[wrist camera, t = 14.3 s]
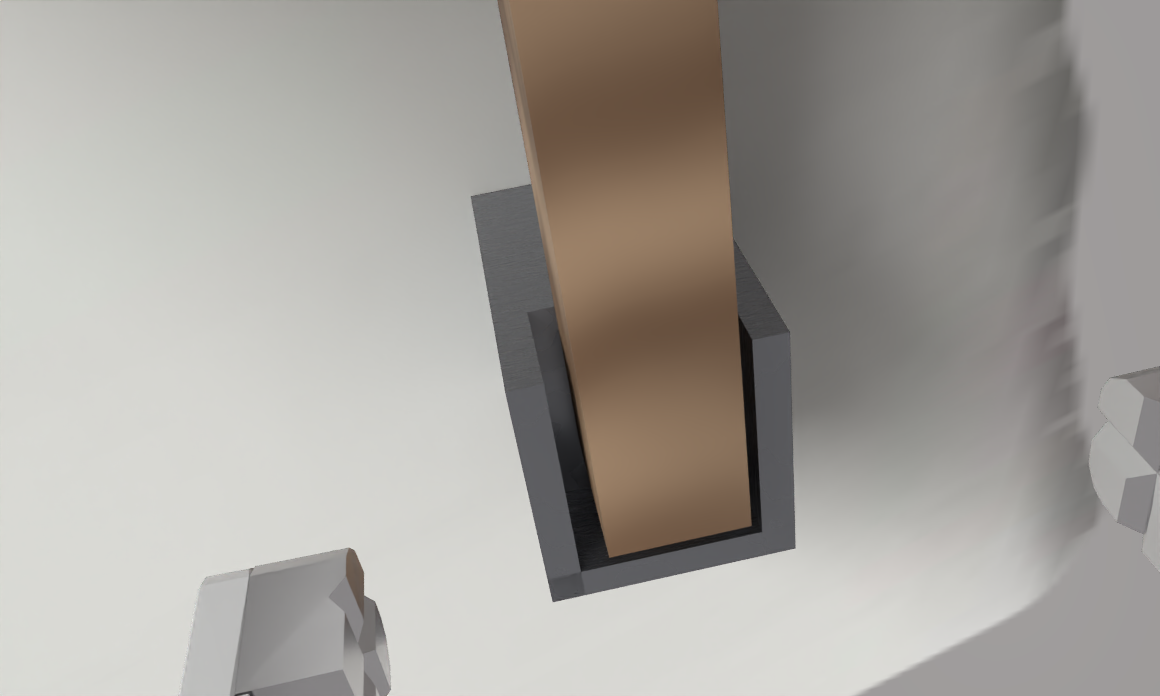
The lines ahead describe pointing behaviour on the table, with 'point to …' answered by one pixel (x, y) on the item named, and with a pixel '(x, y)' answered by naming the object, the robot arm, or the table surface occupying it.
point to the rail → (638, 254)
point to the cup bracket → (552, 429)
